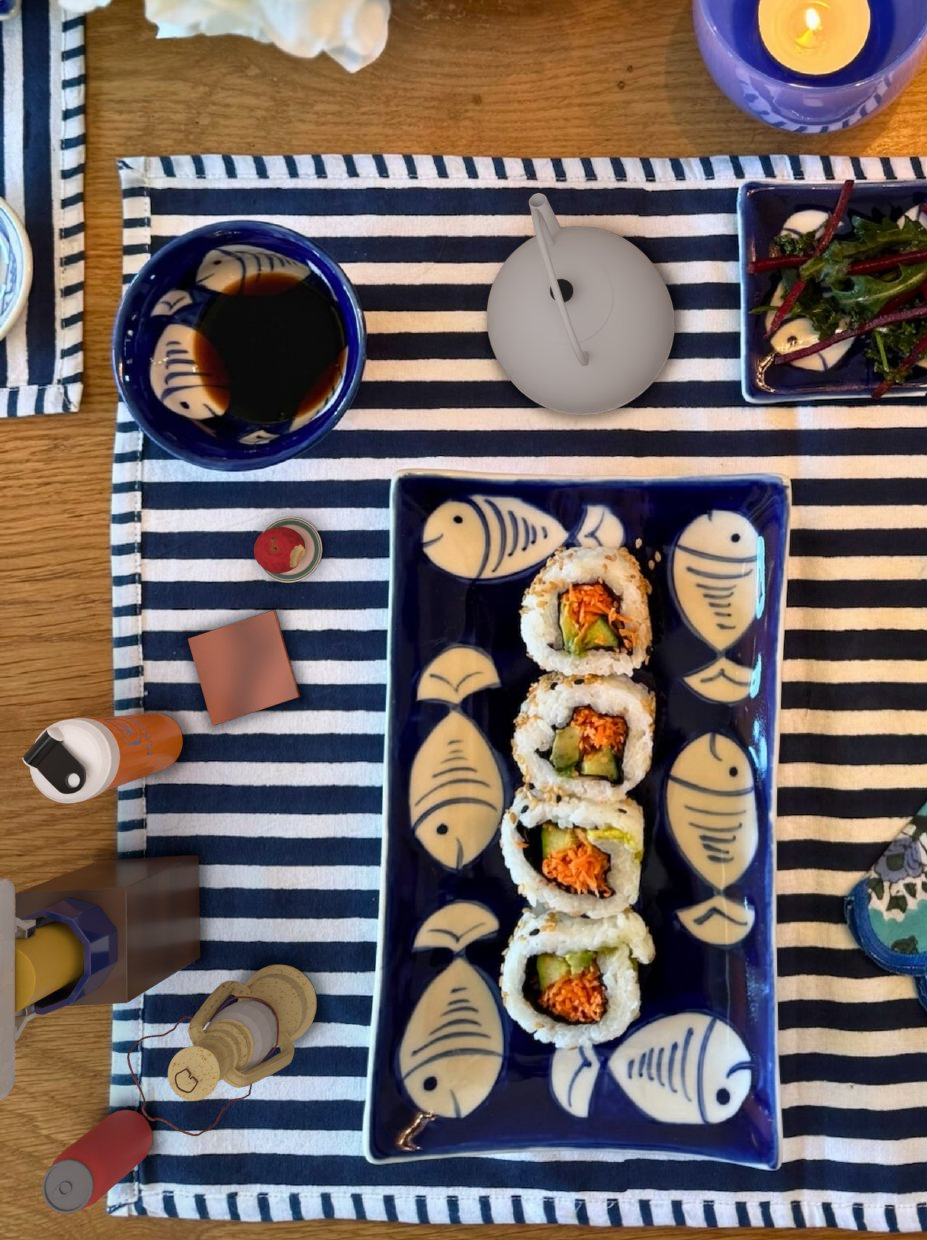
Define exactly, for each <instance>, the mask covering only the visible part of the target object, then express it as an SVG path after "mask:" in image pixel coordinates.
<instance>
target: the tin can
mask: <svg viewBox="0 0 927 1240" xmlns="http://www.w3.org/2000/svg"><path fill="white" fill-rule="evenodd" d="M83 975H84V945H83V944H82V943H81V941H80V940H79V938H78V937H77V936H76V934H75V933H74V932H73V930H72V929H71V928H70V926H69V925H68V924H67V923H63V922H59V921H56V920H54V921H52V922H49V923H47V924H45V925H43V926H40V927H38V928H36V935H34V936H31V937H30V938H28V939H19V938H18V939H15V1013H17V1012H18V1011H20V1010H22V1009H24V1008H26V1007H27V1006H29V1005H31V1004H33V1003H35V1002H36V1001H38V1000H40V999H42V998H44V997H45V996H47V995H49V994H51V993H53V992H54V991H56V990H58V989H60V988H62V987H64V986H65V985H67V984H69V983H71V982H73V981H74V980H76V979H78V978H80V977H82V976H83Z"/></svg>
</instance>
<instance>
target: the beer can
mask: <svg viewBox="0 0 927 1240" xmlns="http://www.w3.org/2000/svg"><path fill="white" fill-rule="evenodd" d="M152 1143H153V1130H152V1128H151V1126H150V1123H149V1121H148V1120H147V1118H146V1117H145V1116H144V1115H143V1114H142V1113H140V1112H138V1111H135V1110H131V1109H122V1110H117V1111H115V1112H112V1113H111V1114H109V1115H107V1116H106V1117H105V1118H103V1120H101V1121H100V1122H99V1123H97V1124H96V1125H94V1127H92V1128H91V1129H90V1130H88V1131H87V1132H86V1133H84V1134H83V1135H82V1136H81V1137H80V1138H78V1139H77V1140H75V1141H74V1142H73V1143H72V1144H70V1145H69V1146H68V1147H67V1148H65V1149H64V1150H63V1151H61V1153H60V1154H59V1155H58V1156H56V1157H55V1159H54V1160H53V1162H52V1164H51V1165H50V1168H49V1169H47V1170H46V1173H45V1175H44V1176H43V1180H42V1183H41V1191H42V1192H41V1193H42V1197H43V1200H44V1201H45V1203H46V1205H47V1206H48V1207H49V1208H50V1209H51V1210H53V1211H54V1212H56V1213H59V1214H62V1215H67V1214H68V1215H70V1214H74V1213H76V1212H79V1211H81V1210H84V1209H86V1208H89V1207H90V1206H93V1205H94V1204H96V1203H97V1202H98V1201H99V1200H100V1199H102V1197H103V1196H104V1195H106V1193H108V1192H109V1191H110V1190H111V1189H112V1188H114V1187H115V1186H116V1185H117V1184H118V1183H119V1182H120V1181H122V1180H123V1179H124V1178H125V1177H126V1176H127V1175H129V1173H130V1172H132V1171H133V1170H134V1169H135V1168H136V1167H137V1166H139V1164H141V1162H142V1161H144V1160H145V1158H146V1157H148V1154H149V1152H150V1150H151V1147H152Z"/></svg>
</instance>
